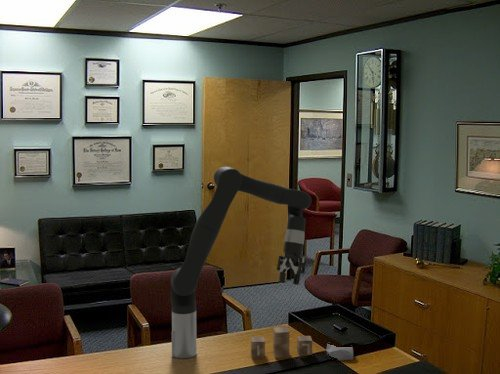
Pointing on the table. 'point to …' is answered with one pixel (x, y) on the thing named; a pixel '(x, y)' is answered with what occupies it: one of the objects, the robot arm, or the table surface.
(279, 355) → the plain pillar
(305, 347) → the block seven
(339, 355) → the stone block
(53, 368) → the table surface
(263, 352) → the block one
